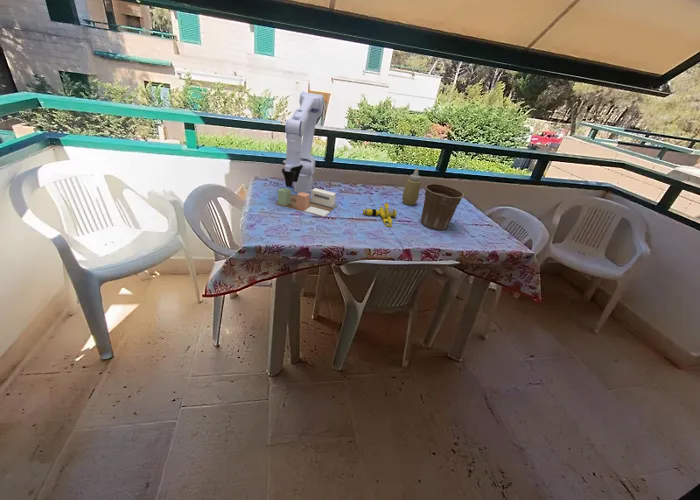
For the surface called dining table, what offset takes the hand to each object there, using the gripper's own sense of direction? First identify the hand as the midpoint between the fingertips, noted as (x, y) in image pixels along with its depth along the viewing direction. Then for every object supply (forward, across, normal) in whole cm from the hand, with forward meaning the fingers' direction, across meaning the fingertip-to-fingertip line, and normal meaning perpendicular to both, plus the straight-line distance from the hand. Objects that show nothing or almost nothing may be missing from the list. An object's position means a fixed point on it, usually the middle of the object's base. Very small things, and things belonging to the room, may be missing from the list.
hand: (291, 184), depth 137 cm
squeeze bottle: (+10, -31, +52) cm, 61 cm away
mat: (+8, +4, +13) cm, 16 cm away
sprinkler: (+10, -6, +39) cm, 41 cm away
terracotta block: (+8, +2, +6) cm, 11 cm away
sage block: (+8, +2, -2) cm, 9 cm away
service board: (+10, -1, +7) cm, 12 cm away
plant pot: (+10, -9, +63) cm, 65 cm away
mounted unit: (+10, -5, +13) cm, 17 cm away
